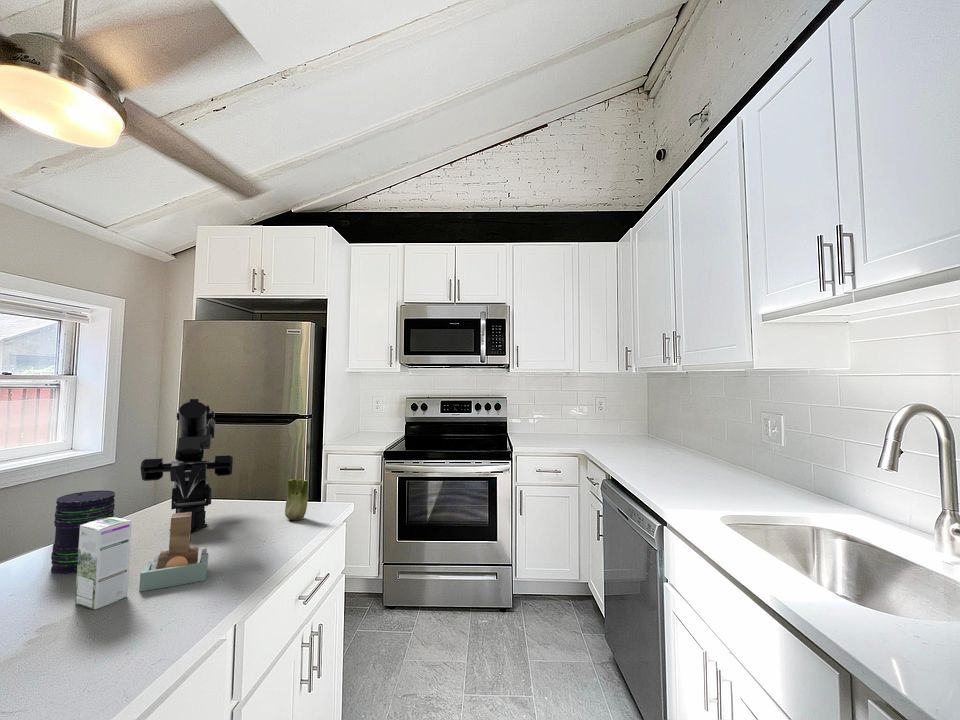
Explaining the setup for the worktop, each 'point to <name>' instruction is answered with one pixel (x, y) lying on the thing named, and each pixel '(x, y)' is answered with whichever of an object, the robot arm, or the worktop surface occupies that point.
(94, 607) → the syrup box
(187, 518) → the kicker
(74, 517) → the storage jar
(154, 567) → the rails
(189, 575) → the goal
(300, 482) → the fennel bulb
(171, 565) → the ball
